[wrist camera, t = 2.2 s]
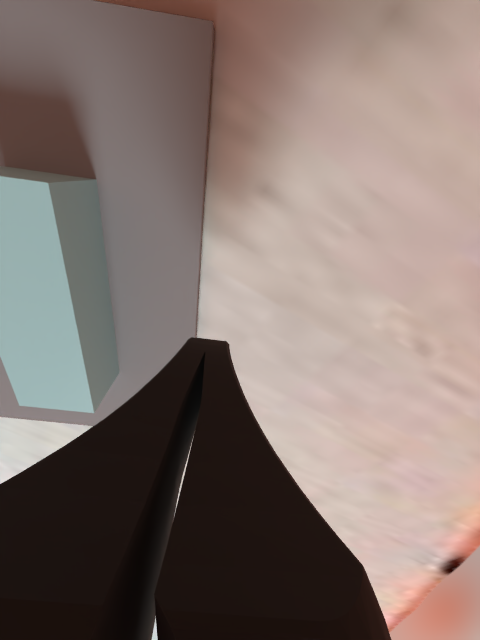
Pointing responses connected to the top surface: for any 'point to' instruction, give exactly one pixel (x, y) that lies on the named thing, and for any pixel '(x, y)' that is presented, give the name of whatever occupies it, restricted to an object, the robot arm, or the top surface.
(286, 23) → the top surface
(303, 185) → the top surface
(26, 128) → the mat
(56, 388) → the t block
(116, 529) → the robot arm
